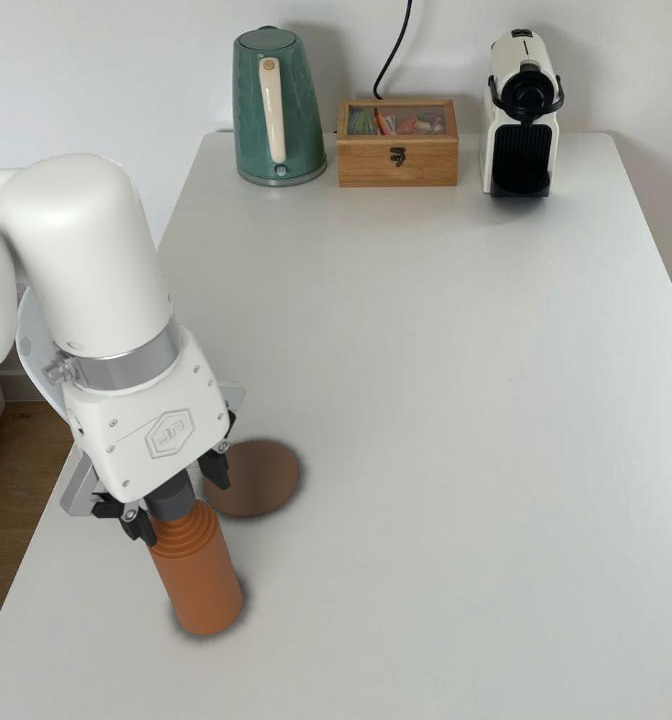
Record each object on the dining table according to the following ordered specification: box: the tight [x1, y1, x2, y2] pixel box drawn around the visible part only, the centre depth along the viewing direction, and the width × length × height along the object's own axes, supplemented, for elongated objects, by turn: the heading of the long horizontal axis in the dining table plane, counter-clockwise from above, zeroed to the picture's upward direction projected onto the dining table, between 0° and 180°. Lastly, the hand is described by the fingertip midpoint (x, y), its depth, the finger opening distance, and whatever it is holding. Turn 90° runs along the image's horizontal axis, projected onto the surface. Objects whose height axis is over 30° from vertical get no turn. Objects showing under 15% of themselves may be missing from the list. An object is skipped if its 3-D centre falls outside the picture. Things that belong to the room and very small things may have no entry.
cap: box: [143, 467, 197, 522], centre depth 64 cm, size 4×4×3 cm
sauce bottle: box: [145, 498, 244, 636], centre depth 69 cm, size 6×6×18 cm
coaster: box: [202, 439, 300, 519], centre depth 86 cm, size 10×10×1 cm
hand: (180, 505), depth 65 cm, fingers open, 6 cm apart
